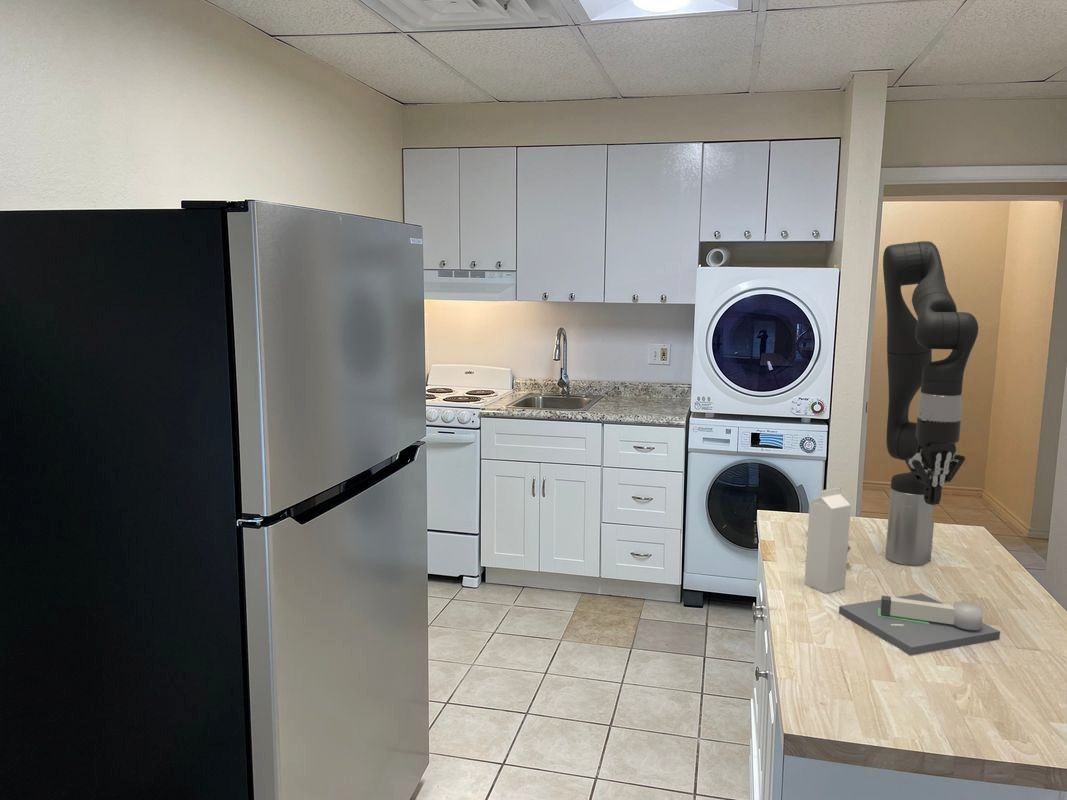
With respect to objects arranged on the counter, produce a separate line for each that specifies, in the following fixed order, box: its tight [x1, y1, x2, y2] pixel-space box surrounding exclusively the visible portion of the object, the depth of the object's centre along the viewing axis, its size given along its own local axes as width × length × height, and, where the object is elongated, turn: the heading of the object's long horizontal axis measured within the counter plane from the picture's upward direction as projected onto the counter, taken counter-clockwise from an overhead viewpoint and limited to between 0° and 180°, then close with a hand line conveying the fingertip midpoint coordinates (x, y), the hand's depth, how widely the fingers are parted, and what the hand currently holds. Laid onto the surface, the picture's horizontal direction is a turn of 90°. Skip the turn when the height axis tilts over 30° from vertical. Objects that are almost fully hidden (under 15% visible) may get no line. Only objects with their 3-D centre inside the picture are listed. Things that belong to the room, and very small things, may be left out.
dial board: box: [838, 592, 1001, 656], centre depth 156 cm, size 21×19×2 cm
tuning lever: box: [880, 595, 984, 630], centre depth 154 cm, size 18×5×4 cm, turn 69°
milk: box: [804, 487, 851, 594], centre depth 174 cm, size 6×6×22 cm
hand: (931, 503), depth 157 cm, fingers closed
